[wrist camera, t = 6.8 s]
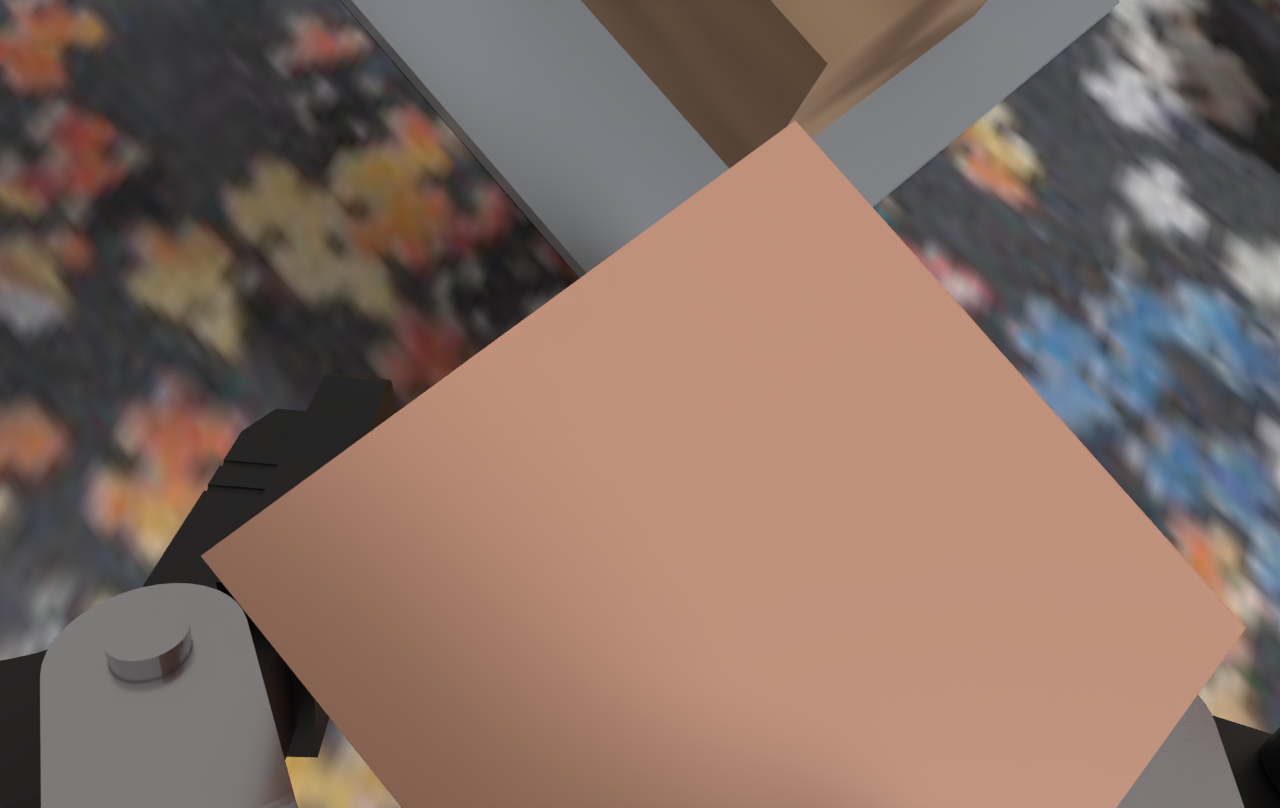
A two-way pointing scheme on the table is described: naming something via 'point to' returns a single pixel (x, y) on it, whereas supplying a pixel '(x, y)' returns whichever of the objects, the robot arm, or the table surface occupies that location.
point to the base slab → (773, 57)
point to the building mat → (672, 106)
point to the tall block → (735, 545)
